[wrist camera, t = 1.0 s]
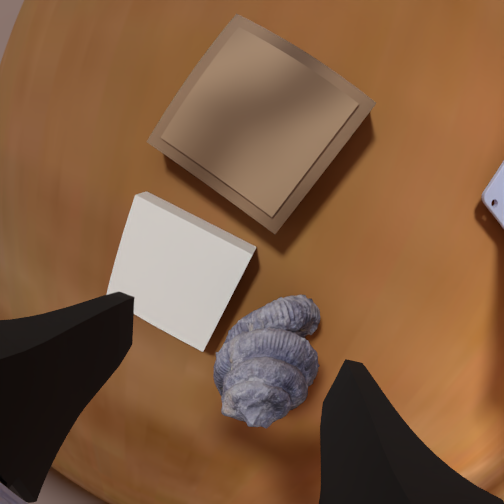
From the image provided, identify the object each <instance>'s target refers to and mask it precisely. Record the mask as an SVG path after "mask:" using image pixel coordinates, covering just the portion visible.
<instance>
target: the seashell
mask: <svg viewBox="0 0 504 504" xmlns="http://www.w3.org/2000/svg"><path fill="white" fill-rule="evenodd" d="M319 323H320V310H319V308H318V307H317V306H316V305H315V303H313V301H312V299H307V298H306V296H305V295H298V296H288V297H285V298H282V297H280V298H278V299H277V300H273V302H271V303H268V304H266V305H265V306H264V307H261V308H259V309H258V310H255V311H253V312H251V313H250V314H248V315H246V316H245V317H243V318H242V319H241V320H239V321H238V323H237V324H236V325H234V326H233V327H232V329H231V330H229V332H228V336H227V338H226V340H225V342H224V344H223V347H222V348H221V349H220V351H219V352H216V362H215V365H214V381H215V384H216V387H217V389H218V391H219V393H220V395H221V396H222V398H221V400H222V409H221V410H222V414H223V415H225V416H228V417H232V418H235V419H237V420H240V421H245V422H247V425H248V426H250V427H259V426H261V427H264V428H268V427H269V426H270V425H271V424H272V423H273V422H275V421H276V420H278V419H281V418H283V417H284V416H286V415H287V413H288V412H289V411H290V410H293V409H294V408H296V407H297V406H299V405H300V404H301V403H303V402H304V401H305V400H306V397H307V395H308V386H310V385H311V384H313V380H314V379H315V377H316V375H317V372H318V367H319V364H318V356H317V352H316V351H315V350H314V349H313V348H312V347H311V345H310V343H309V341H308V340H306V339H305V336H306V335H308V334H310V335H312V334H313V333H314V331H315V330H316V329H317V327H318V324H319Z"/></svg>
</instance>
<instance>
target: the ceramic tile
mask: <svg viewBox="0 0 504 504" xmlns="http://www.w3.org/2000/svg"><path fill="white" fill-rule="evenodd" d="M255 249H256V246H254V245H252V244H250V243H248V242H246V241H244V240H242V239H240V238H238V237H236V236H234V235H232V234H230V233H228V232H226V231H224V230H222V229H220V228H218V227H216V226H214V225H212V224H210V223H208V222H206V221H204V220H202V219H200V218H198V217H196V216H194V215H192V214H190V213H189V212H187V211H185V210H183V209H181V208H179V207H177V206H175V205H173V204H171V203H169V202H167V201H165V200H163V199H161V198H159V197H157V196H155V195H153V194H151V193H149V192H147V191H146V192H143V193H140V194H136V195H135V198H134V201H133V204H132V207H131V210H130V213H129V216H128V219H127V222H126V225H125V229H124V232H123V235H122V239H121V242H120V245H119V249H118V252H117V256H116V260H115V263H114V267H113V271H112V275H111V278H110V282H109V286H108V290H107V295H108V294H111V293H115V292H122V293H125V294H127V295H130V296H133V297H135V298H134V314H135V315H137V316H138V317H140V318H142V319H144V320H145V321H147V322H149V323H150V324H152V325H154V326H156V327H158V328H159V329H161V330H163V331H165V332H167V333H168V334H170V335H172V336H174V337H176V338H178V339H179V340H181V341H183V342H185V343H187V344H189V345H191V346H193V347H195V348H196V349H198V350H200V351H202V352H203V351H204V349H205V347H206V345H207V343H208V341H209V339H210V337H211V335H212V333H213V331H214V329H215V328H216V326H217V324H218V322H219V320H220V318H221V316H222V314H223V312H224V310H225V308H226V306H227V304H228V302H229V300H230V298H231V296H232V294H233V292H234V290H235V288H236V286H237V284H238V283H239V281H240V279H241V277H242V275H243V273H244V271H245V269H246V267H247V265H248V263H249V261H250V259H251V257H252V255H253V253H254V251H255Z"/></svg>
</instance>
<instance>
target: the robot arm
mask: <svg viewBox="0 0 504 504" xmlns="http://www.w3.org/2000/svg"><path fill="white" fill-rule="evenodd" d="M492 200H494V205H493V206H492V204H491V203H492ZM482 202H483V203H484V205H485V206H486V207H487V208H488V210H489V211H490V212H491V213H492V215H493V216H494V217H495V218H496V220H497V221H498V222H499V224H500V225H501V226H502V228H503V229H504V161H503V162H502V164H501V165H500V167H499V169H498V170H497V172H496V173H495V175H494V176H493V178H492V179H491V181H490V182H489V184H488V185H487V187H486V188H485V190H484V191H483V193H482ZM134 298H135V297H133V296H130V295H127V294H125V293H122V292H115V293H111V294H108V295H104V296H101V297H98V298H95V299H92V300H89V301H86V302H83V303H79V304H76V305H73V306H70V307H66V308H63V309H59V310H55V311H52V312H48V313H44V314H40V315H35V316H30V317H24V318H18V319H11V320H0V482H1V483H0V504H28V503H30V502H36V501H37V498H38V495H39V493H40V490H41V487H42V485H43V483H44V480H45V478H46V475H47V473H48V471H49V469H50V467H51V465H52V463H53V461H54V459H55V457H56V455H57V453H58V451H59V449H60V447H61V445H62V443H63V442H64V440H65V438H66V436H67V434H68V433H69V431H70V429H71V428H72V426H73V424H74V423H75V421H76V420H77V418H78V416H79V415H80V413H81V412H82V411H83V409H84V408H85V407H86V405H87V404H88V403H89V402H90V401H91V399H92V398H93V397H94V396H95V395H96V393H97V392H98V391H99V390H100V388H101V387H102V386H103V385H104V384H105V382H106V381H107V380H108V379H109V378H110V376H111V375H112V374H113V373H114V372H115V370H116V369H117V368H118V367H119V365H120V364H121V362H122V360H123V359H124V357H125V356H126V354H127V352H128V351H129V349H130V347H131V346H132V335H133V314H134ZM320 441H321V491H320V500H319V504H504V502H503V500H502V499H500V498H498V497H496V496H494V495H492V494H490V493H489V492H487V491H485V490H483V489H481V488H479V487H478V486H476V485H474V484H473V483H471V482H470V481H468V480H467V479H465V478H464V477H462V476H461V475H460V474H458V473H457V472H456V471H454V470H453V469H452V468H450V467H449V466H448V465H447V464H446V463H445V462H443V461H442V460H441V459H440V458H439V457H437V456H436V455H435V454H434V453H433V452H432V451H431V450H430V449H429V448H428V447H427V446H426V445H425V444H424V443H423V442H422V441H421V440H420V439H419V438H418V437H417V435H416V434H415V433H414V432H413V431H412V430H411V429H410V427H409V426H408V425H407V424H406V422H405V421H404V420H403V419H402V417H401V416H400V415H399V414H398V412H397V411H396V410H395V408H394V407H393V406H392V404H391V403H390V401H389V400H388V399H387V397H386V396H385V394H384V393H383V392H382V390H381V389H380V387H379V386H378V384H377V383H376V381H375V380H374V378H373V377H372V376H371V374H370V373H369V371H368V370H367V368H366V367H365V366H364V365H363V363H360V362H355V361H351V360H346V359H345V361H344V363H343V365H342V367H341V369H340V371H339V373H338V375H337V377H336V379H335V381H334V383H333V385H332V386H331V388H330V390H329V392H328V394H327V396H326V398H325V399H324V401H323V407H322V416H321V425H320ZM5 486H6V487H5ZM10 490H11V491H10ZM14 493H15V494H14ZM26 502H28V503H26Z"/></svg>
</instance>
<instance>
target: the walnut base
mask: <svg viewBox="0 0 504 504" xmlns="http://www.w3.org/2000/svg"><path fill="white" fill-rule="evenodd" d="M375 104H376V102H375V101H373V100H372V99H371V98H369V97H368V96H367V95H366V94H364V93H363V92H362V91H360V90H359V89H358V88H357V87H355V86H354V85H353V84H351V83H350V82H348V81H347V80H346V79H344V78H343V77H342V76H340V75H339V74H337V73H336V72H335V71H333V70H332V69H330V68H329V67H327V66H326V65H324V64H323V63H321V62H320V61H318V60H317V59H315V58H314V57H312V56H311V55H309V54H308V53H306V52H304V51H303V50H301V49H300V48H298V47H296V46H295V45H293V44H291V43H290V42H288V41H286V40H285V39H283V38H281V37H280V36H278V35H276V34H274V33H272V32H271V31H269V30H267V29H265V28H263V27H262V26H260V25H258V24H256V23H254V22H252V21H250V20H248V19H246V18H244V17H242V16H240V15H238V14H236V15H235V16H234V17H233V19H232V20H231V21H230V22H229V23H228V25H227V26H226V27H225V28H224V30H223V31H222V32H221V33H220V35H219V36H218V37H217V38H216V40H215V41H214V42H213V44H212V45H211V46H210V48H209V49H208V50H207V52H206V53H205V54H204V56H203V57H202V58H201V60H200V61H199V62H198V64H197V65H196V66H195V68H194V69H193V71H192V72H191V74H190V75H189V76H188V78H187V79H186V81H185V82H184V84H183V85H182V87H181V88H180V89H179V91H178V92H177V94H176V95H175V97H174V98H173V100H172V102H171V103H170V105H169V106H168V108H167V109H166V111H165V112H164V114H163V116H162V117H161V119H160V120H159V122H158V124H157V125H156V127H155V129H154V130H153V132H152V134H151V135H150V137H149V139H148V140H147V142H148V143H149V144H150V145H152V146H153V147H155V148H156V149H158V150H159V151H160V152H162V153H163V154H165V155H166V156H167V157H169V158H170V159H172V160H173V161H175V162H176V163H177V164H179V165H180V166H182V167H183V168H184V169H186V170H187V171H189V172H190V173H191V174H193V175H194V176H196V177H197V178H198V179H200V180H201V181H203V182H204V183H205V184H207V185H208V186H210V187H211V188H212V189H214V190H215V191H216V192H218V193H219V194H221V195H222V196H223V197H225V198H226V199H227V200H229V201H230V202H232V203H233V204H234V205H236V206H237V207H238V208H240V209H241V210H242V211H244V212H245V213H247V214H248V215H249V216H251V217H252V218H253V219H255V220H256V221H257V222H259V223H260V224H261V225H263V226H264V227H266V228H267V229H268V230H270V231H271V232H272V233H274V234H276V233H277V231H278V230H279V229H280V228H281V226H282V225H283V224H284V222H285V221H286V220H287V219H288V217H289V216H290V215H291V213H292V212H293V211H294V210H295V208H296V207H297V206H298V204H299V203H300V202H301V201H302V199H303V198H304V197H305V195H306V194H307V193H308V191H309V190H310V189H311V188H312V186H313V185H314V184H315V182H316V181H317V180H318V179H319V177H320V176H321V175H322V173H323V172H324V171H325V169H326V168H327V167H328V166H329V164H330V163H331V162H332V160H333V159H334V158H335V157H336V155H337V154H338V153H339V151H340V150H341V149H342V147H343V146H344V145H345V144H346V142H347V141H348V140H349V138H350V137H351V136H352V134H353V133H354V132H355V131H356V129H357V128H358V127H359V125H360V124H361V123H362V121H363V120H364V119H365V117H366V116H367V115H368V114H369V112H370V111H371V110H372V108H373V107H374V106H375Z"/></svg>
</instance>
